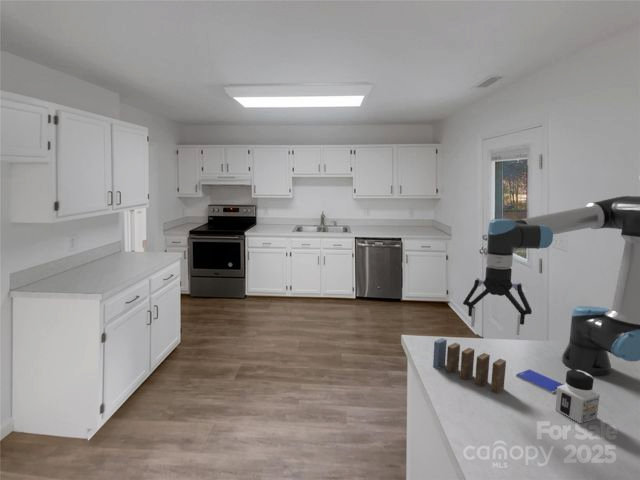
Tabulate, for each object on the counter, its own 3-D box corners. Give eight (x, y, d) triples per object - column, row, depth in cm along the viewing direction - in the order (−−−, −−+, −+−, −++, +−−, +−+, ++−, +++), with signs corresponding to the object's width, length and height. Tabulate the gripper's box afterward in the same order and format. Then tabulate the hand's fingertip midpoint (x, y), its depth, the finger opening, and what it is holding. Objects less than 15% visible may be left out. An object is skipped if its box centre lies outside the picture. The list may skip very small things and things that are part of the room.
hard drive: (516, 374, 132) (551, 390, 121) (529, 368, 136) (565, 384, 125) (515, 378, 132) (551, 394, 122) (529, 372, 136) (565, 388, 125)
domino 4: (503, 388, 124) (506, 360, 123) (496, 394, 121) (499, 365, 119) (497, 386, 125) (500, 358, 124) (490, 391, 122) (492, 362, 121)
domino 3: (487, 382, 128) (489, 354, 127) (480, 387, 125) (482, 359, 124) (482, 380, 130) (484, 352, 128) (474, 384, 126) (476, 356, 125)
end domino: (433, 366, 139) (434, 341, 138) (440, 362, 142) (441, 338, 141) (437, 368, 138) (439, 343, 136) (445, 364, 141) (446, 339, 139)
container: (580, 424, 105) (585, 382, 103) (554, 410, 112) (558, 369, 110) (597, 418, 108) (602, 376, 106) (570, 404, 115) (575, 365, 113)
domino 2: (472, 376, 132) (474, 349, 131) (465, 380, 129) (467, 353, 128) (467, 373, 134) (469, 347, 133) (460, 378, 131) (461, 351, 129)
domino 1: (458, 370, 137) (460, 344, 135) (451, 374, 133) (452, 348, 132) (453, 368, 138) (455, 342, 137) (446, 372, 135) (447, 346, 134)
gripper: (456, 264, 123) (453, 326, 125) (543, 273, 110) (538, 341, 113) (460, 261, 129) (457, 319, 132) (543, 268, 117) (538, 332, 119)
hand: (494, 329), depth 122 cm, fingers open, 13 cm apart
